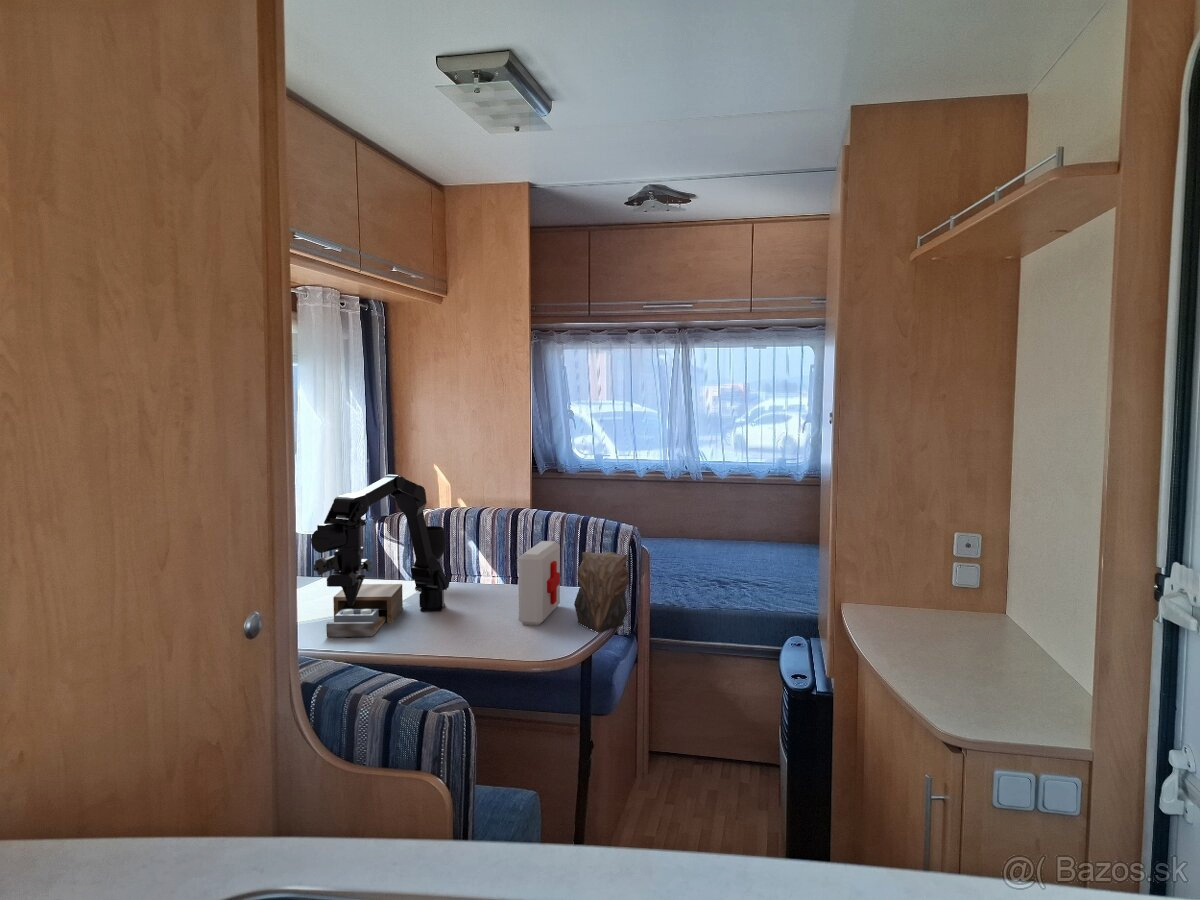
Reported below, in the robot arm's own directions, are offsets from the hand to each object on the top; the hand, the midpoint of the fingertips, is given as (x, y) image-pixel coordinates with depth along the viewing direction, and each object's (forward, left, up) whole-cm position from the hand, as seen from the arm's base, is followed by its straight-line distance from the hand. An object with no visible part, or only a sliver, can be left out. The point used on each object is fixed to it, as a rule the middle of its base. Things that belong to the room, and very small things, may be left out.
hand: (350, 605), depth 193 cm
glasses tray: (+2, -12, -9) cm, 15 cm away
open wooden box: (+2, -25, -10) cm, 27 cm away
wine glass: (-10, -56, -10) cm, 58 cm away
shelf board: (+2, -12, -10) cm, 16 cm away
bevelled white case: (-48, -24, -10) cm, 55 cm away
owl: (-64, -14, -10) cm, 66 cm away
